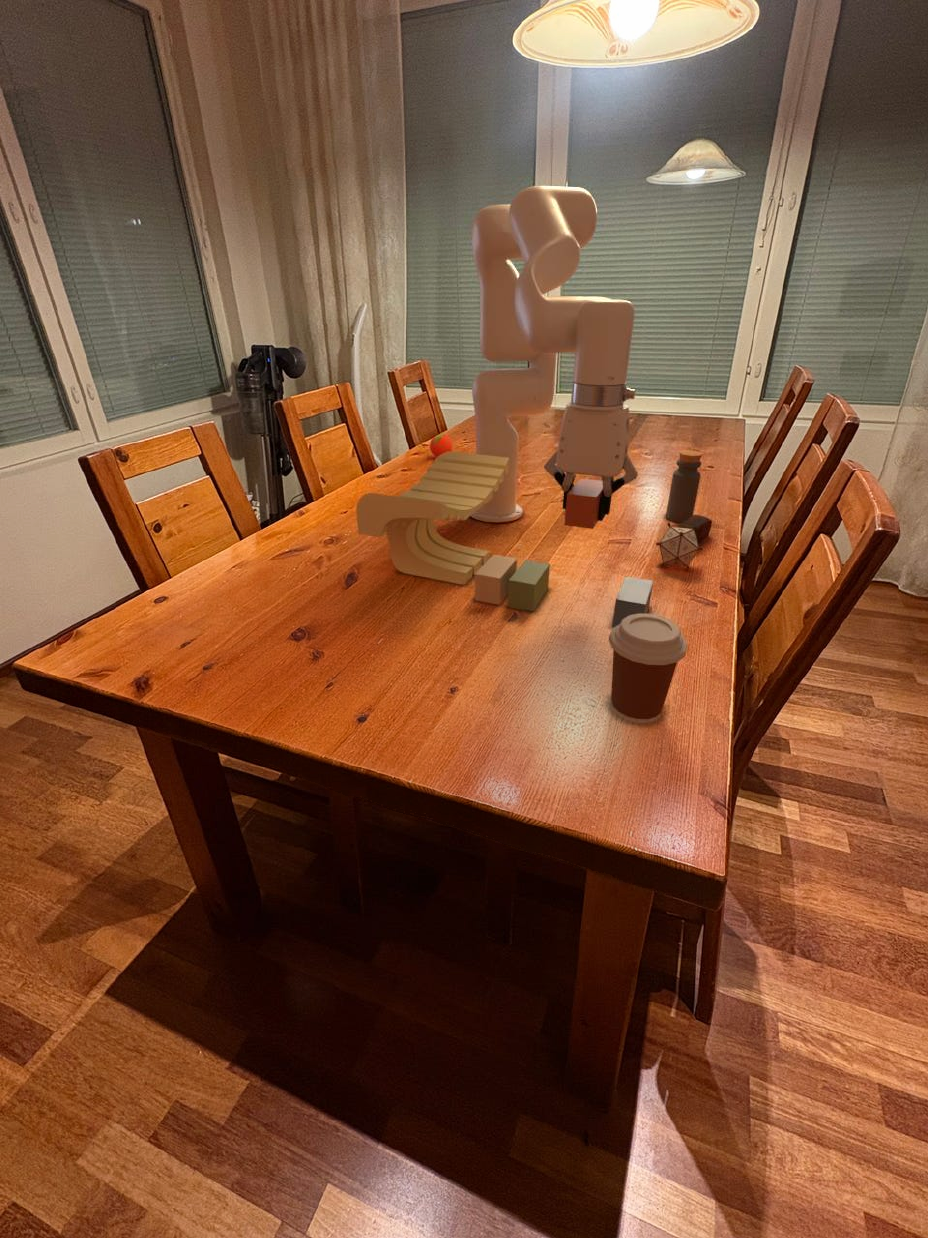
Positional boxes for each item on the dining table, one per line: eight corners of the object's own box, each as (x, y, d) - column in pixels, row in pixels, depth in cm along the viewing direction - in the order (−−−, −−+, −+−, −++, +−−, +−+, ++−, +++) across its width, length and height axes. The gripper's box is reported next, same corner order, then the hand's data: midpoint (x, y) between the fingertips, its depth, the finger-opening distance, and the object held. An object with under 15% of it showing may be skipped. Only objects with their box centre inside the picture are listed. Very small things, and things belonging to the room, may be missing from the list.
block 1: (474, 600, 103) (474, 573, 101) (492, 579, 111) (493, 554, 108) (499, 605, 102) (500, 578, 99) (515, 583, 109) (517, 558, 107)
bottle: (693, 516, 141) (706, 451, 133) (690, 524, 136) (703, 457, 129) (667, 512, 143) (678, 448, 135) (663, 520, 138) (675, 454, 131)
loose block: (564, 525, 94) (567, 493, 91) (577, 507, 101) (580, 478, 98) (593, 529, 92) (596, 497, 90) (604, 511, 99) (608, 481, 97)
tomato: (444, 462, 181) (444, 438, 178) (424, 460, 184) (423, 436, 180) (456, 456, 187) (456, 433, 184) (436, 454, 190) (436, 430, 186)
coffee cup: (688, 714, 76) (707, 633, 70) (637, 739, 72) (652, 655, 66) (635, 679, 83) (648, 602, 77) (585, 700, 79) (595, 620, 73)
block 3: (611, 627, 95) (615, 599, 93) (621, 602, 103) (625, 576, 100) (640, 632, 94) (645, 604, 92) (648, 607, 101) (653, 580, 99)
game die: (678, 580, 119) (714, 540, 116) (679, 583, 111) (718, 540, 108) (642, 551, 120) (677, 511, 117) (641, 552, 112) (678, 509, 109)
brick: (690, 551, 122) (695, 529, 120) (672, 546, 124) (676, 525, 122) (709, 536, 129) (714, 516, 127) (691, 532, 131) (695, 511, 129)
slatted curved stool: (437, 531, 131) (435, 449, 123) (506, 543, 126) (509, 457, 117) (363, 587, 107) (354, 490, 99) (443, 604, 102) (442, 503, 93)
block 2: (507, 606, 101) (508, 579, 99) (523, 585, 109) (525, 559, 106) (533, 611, 100) (535, 584, 97) (548, 589, 107) (550, 563, 105)
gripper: (661, 395, 88) (642, 515, 96) (548, 388, 93) (540, 502, 102) (654, 403, 81) (635, 531, 90) (534, 395, 87) (527, 516, 96)
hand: (585, 514), depth 96 cm, fingers closed on loose block, 4 cm apart
